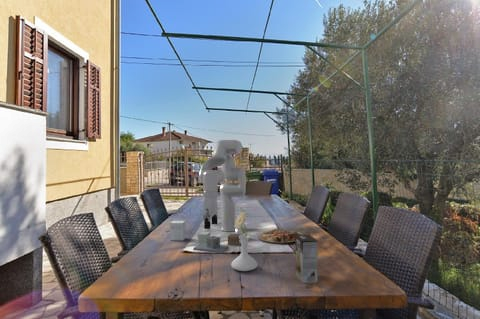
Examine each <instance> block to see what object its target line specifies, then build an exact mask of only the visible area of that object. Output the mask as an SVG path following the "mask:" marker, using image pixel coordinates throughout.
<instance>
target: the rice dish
mask: <svg viewBox="0 0 480 319" xmlns="http://www.w3.org/2000/svg"><path fill="white" fill-rule="evenodd" d="M298 234H305V233H302V232H300V231H297V230H296V231H295V230H282V229H281V228H276V229H272V230H269V231H266V232H265V231H264V232H262V233H260V234H259V235H257V238H258V239H259V240H261V241H264V242H268V243H277V244H287V243H293V242H294V243H295V235H298Z"/></svg>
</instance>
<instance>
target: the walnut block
mask: <svg viewBox="0 0 480 319" xmlns="http://www.w3.org/2000/svg"><path fill="white" fill-rule="evenodd" d="M238 236H240V234H235V233H230V234H228V235H227V245H228V246H233V245H237V244H238V245H239V244H241V240H240V238H239V237H238ZM238 245H237V246H238Z"/></svg>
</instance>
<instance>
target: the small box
mask: <svg viewBox="0 0 480 319" xmlns="http://www.w3.org/2000/svg"><path fill="white" fill-rule="evenodd" d="M169 223H170V224H169V232H170V233H169V234H170V236H169V238H170V241H184V240H185V239H187V235H186V234H187V231H186V230H187V226H186V220H172V221H171V222H169Z"/></svg>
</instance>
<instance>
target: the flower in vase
mask: <svg viewBox="0 0 480 319" xmlns="http://www.w3.org/2000/svg"><path fill="white" fill-rule="evenodd" d="M246 218H247V214H246V212H244V211H241V212H240V213H239V214H238V215H237V216H236V219H235V226H234V227H236V228H235V229H238V228H241V232H243V233H244V235H240V236H238V237H239V238H240V244H241V251H240V252H241V253H240V254H239V255H238V256H236V258H235V259H233V261H231V264H230V265H231V268H232V269H234V270H236V271H239V272H249V271H253V270H255V269H257V267H258V262H257V261H256V260H255V258H253V257H252V256H251V255H250V254H248V253H249V252H248V241H249V240H250V237H251V236H250V235H248V230H247V227H246V224H245V221H246ZM243 227H244V229H243Z"/></svg>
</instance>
